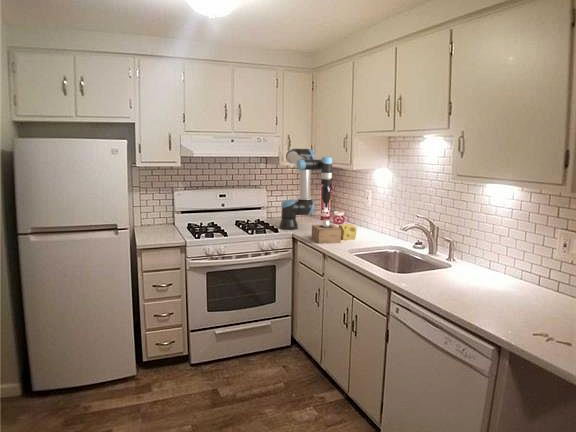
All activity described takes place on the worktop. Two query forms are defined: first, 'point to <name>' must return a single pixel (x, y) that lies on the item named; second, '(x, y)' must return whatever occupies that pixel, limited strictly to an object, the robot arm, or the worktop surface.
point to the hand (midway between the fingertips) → (325, 211)
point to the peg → (326, 223)
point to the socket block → (326, 234)
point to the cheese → (348, 232)
